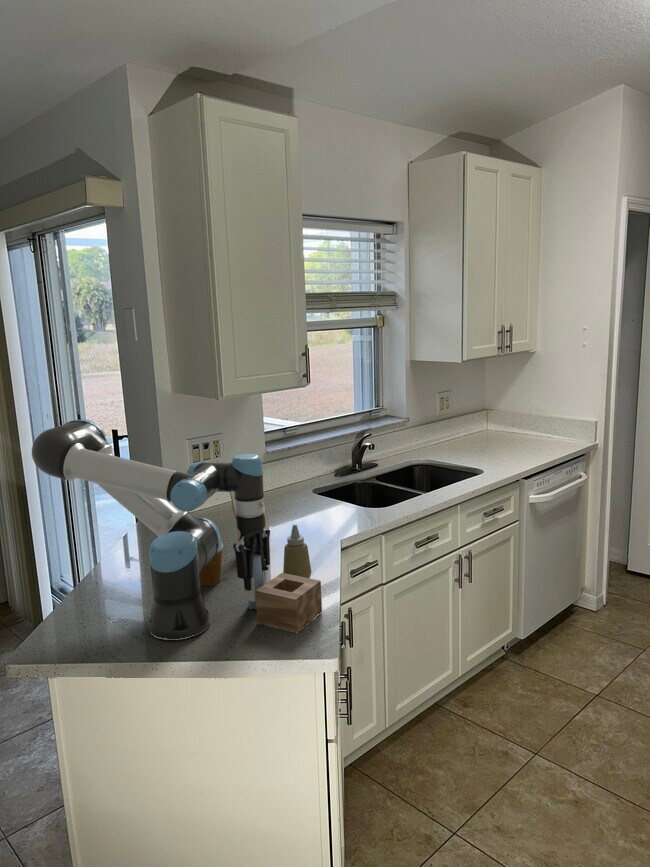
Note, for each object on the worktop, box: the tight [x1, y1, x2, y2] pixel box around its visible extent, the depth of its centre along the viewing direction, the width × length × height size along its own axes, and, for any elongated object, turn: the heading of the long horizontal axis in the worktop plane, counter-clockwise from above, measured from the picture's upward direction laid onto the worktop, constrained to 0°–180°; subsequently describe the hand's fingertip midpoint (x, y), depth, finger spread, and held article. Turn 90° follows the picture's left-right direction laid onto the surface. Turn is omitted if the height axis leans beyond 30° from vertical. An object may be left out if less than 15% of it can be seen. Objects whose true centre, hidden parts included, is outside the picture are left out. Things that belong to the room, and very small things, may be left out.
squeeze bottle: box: [282, 524, 312, 579], centre depth 191 cm, size 8×8×18 cm
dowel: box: [248, 554, 263, 610], centre depth 179 cm, size 4×4×14 cm
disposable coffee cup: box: [199, 541, 224, 587], centre depth 196 cm, size 10×10×12 cm
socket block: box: [255, 572, 323, 634], centre depth 172 cm, size 12×12×9 cm
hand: (255, 596), depth 180 cm, fingers closed on dowel, 4 cm apart
